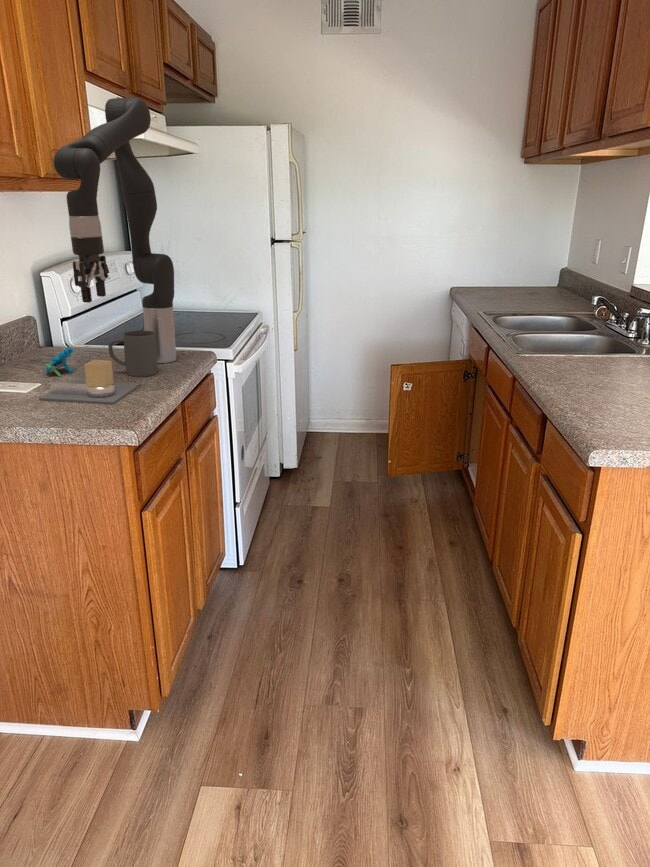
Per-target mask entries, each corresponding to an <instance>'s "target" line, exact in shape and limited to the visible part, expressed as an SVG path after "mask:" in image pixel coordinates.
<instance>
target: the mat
mask: <svg viewBox="0 0 650 867" xmlns="http://www.w3.org/2000/svg"><path fill="white" fill-rule="evenodd" d="M67 383H75V384H86V379H72V380H70V381H68V382H67ZM114 385H115V395H113V396H110V397H106V398H91V397H88V396H86V395H68V394H51V391H48V393H46V394H43V395H42V396H40V397H39V398H38V401H46V402H47V401H48V402H49V401H50V402H65V403H66V402H67V403H81V404H82V403H83V404H85V403H86V404H99V405H115V404H116V403H117V402H119V401H121V400H122V399H124V398H125V397H127V396H128V395H129V394H131V393H132V392H134V391H135V390H136V389H138V388H139V387H141V386H142V382H124V381H114Z"/></svg>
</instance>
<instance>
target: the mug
mask: <svg viewBox="0 0 650 867" xmlns="http://www.w3.org/2000/svg"><path fill="white" fill-rule="evenodd" d="M122 337H123V338H115V339H112V340H109V342H108V353H109V356H110V358H111V359H112V360H113V361H114V362H115V363H117V364H119V365H121V366H124V367H125V369H126V374H127V375H128V376H130V377H135V378H136V377H137V378H143V377H150V376H154V375H156V374H158V372H159V371H158V370H159V368H158V367H159V366H158V363H157V350H156V339H155V333H154V332H152V331H145V330H144V329H143V330H142V329H141V330H132V331H131V330H130V331H126V332H123V336H122ZM116 343H123V350H124V361H122V360H120V359H119V358H118V357H117V355H115V354H114V350H113V349H114V348H113V345H114V344H116Z"/></svg>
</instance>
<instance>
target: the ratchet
mask: <svg viewBox="0 0 650 867" xmlns="http://www.w3.org/2000/svg"><path fill="white" fill-rule="evenodd" d="M49 388H50V392H51V394H68V395H86V396H88V397H91V398H106V397H110V396H113V395H115V385H114V383H113V384H111V385H109V386H108V387H106V388H94V387H87V384H75V383H68V382H55V383H54V384H51V385H50V386H49Z"/></svg>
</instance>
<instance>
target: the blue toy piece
mask: <svg viewBox="0 0 650 867" xmlns="http://www.w3.org/2000/svg"><path fill="white" fill-rule="evenodd" d="M73 352H74V349H73V348H72V346H70V347H68V348H65V349H63V352H62V351H60V352H59V353H58V354H57V356H55V357H53V358H52V359H51V361H50V362H49V363H46V365H45V371H46V372H47V373H51V372H52V373H53V372H54V373H55V374H56V375H57V376H58V377H61V376H62V374H61V373H60V372H59V371H58V369H60V368H61V367H64V368H65V369H66V370H67V371H68V372H69V374H71V373H73V372H74V370H73V369H72V368H71V367H70V366H69V365H68V364H67V362H66V361H68V358H70V357H71V356H72V353H73Z"/></svg>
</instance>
